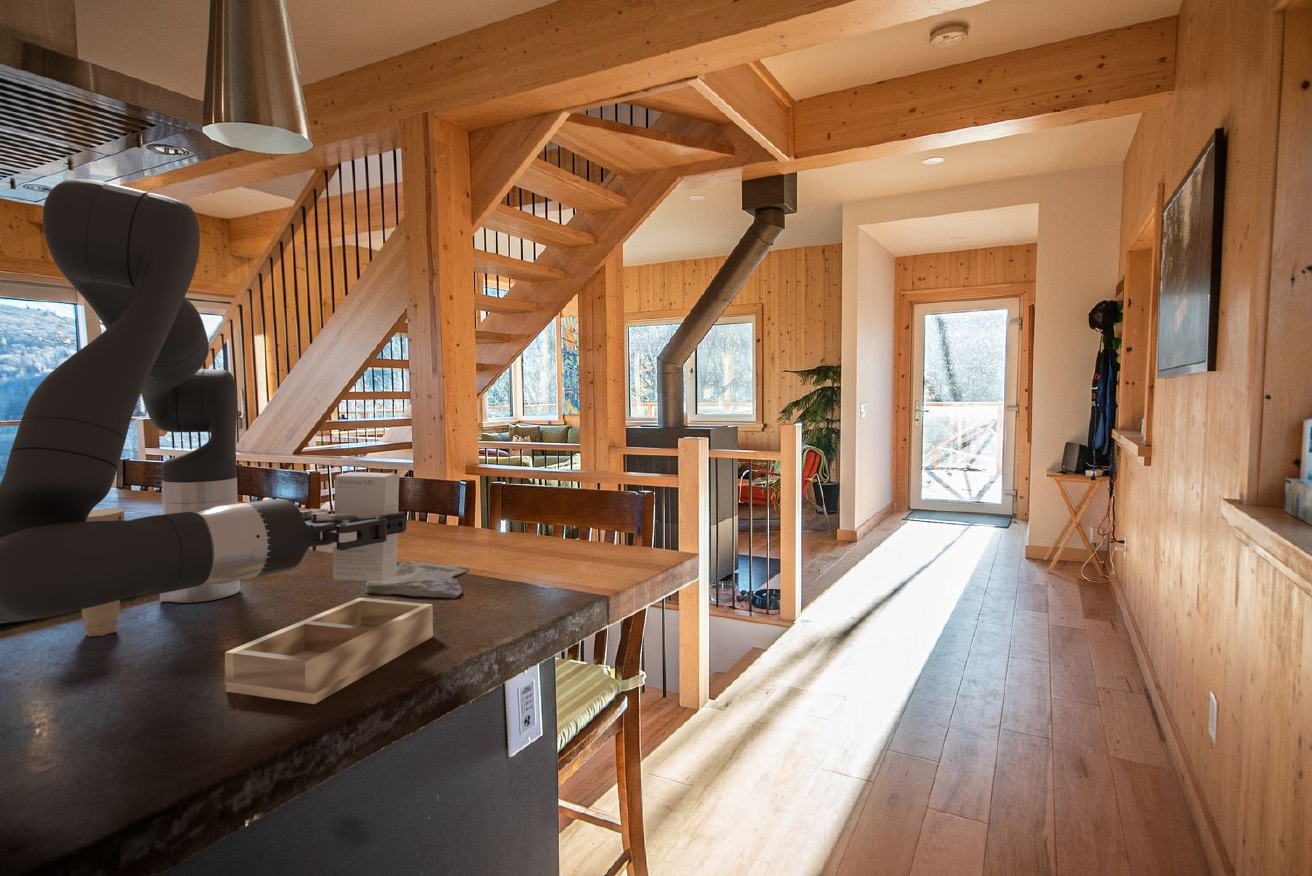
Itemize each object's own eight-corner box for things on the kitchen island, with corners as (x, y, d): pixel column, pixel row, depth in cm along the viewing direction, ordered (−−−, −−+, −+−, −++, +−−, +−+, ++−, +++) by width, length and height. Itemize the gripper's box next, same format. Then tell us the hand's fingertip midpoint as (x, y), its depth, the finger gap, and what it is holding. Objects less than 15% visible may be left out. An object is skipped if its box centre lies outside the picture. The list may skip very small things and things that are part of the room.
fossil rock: (400, 572, 121) (400, 558, 121) (487, 573, 121) (487, 559, 120) (356, 601, 103) (355, 585, 103) (457, 602, 103) (457, 586, 103)
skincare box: (331, 581, 80) (330, 475, 79) (349, 571, 84) (349, 471, 84) (384, 582, 80) (384, 475, 79) (400, 573, 84) (400, 472, 84)
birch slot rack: (314, 704, 67) (313, 663, 67) (226, 691, 70) (224, 652, 70) (432, 636, 87) (432, 604, 86) (359, 628, 89) (359, 597, 89)
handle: (63, 643, 83) (58, 517, 82) (94, 626, 90) (89, 509, 89) (110, 640, 84) (105, 516, 83) (137, 623, 91) (133, 508, 90)
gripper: (285, 509, 66) (424, 491, 80) (202, 498, 73) (343, 484, 87) (286, 588, 66) (424, 557, 80) (203, 569, 73) (343, 544, 88)
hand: (382, 519), depth 84 cm, fingers closed on skincare box, 7 cm apart
